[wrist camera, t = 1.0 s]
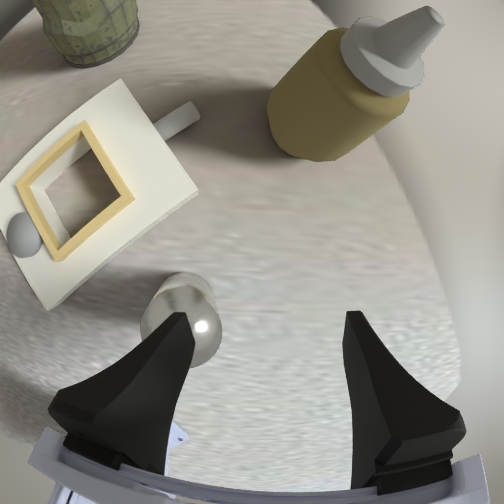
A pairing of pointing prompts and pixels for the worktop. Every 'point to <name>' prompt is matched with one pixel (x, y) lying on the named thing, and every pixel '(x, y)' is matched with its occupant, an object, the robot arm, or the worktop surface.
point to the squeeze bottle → (350, 85)
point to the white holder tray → (121, 174)
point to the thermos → (89, 28)
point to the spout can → (187, 312)
